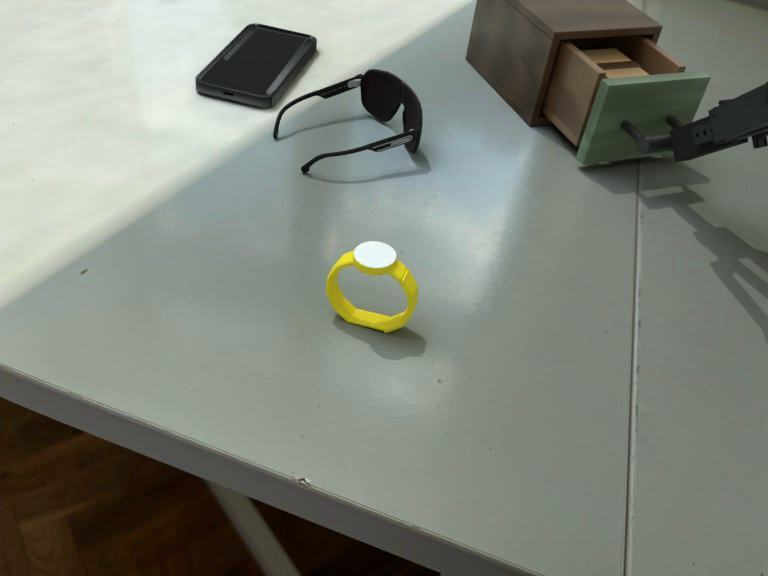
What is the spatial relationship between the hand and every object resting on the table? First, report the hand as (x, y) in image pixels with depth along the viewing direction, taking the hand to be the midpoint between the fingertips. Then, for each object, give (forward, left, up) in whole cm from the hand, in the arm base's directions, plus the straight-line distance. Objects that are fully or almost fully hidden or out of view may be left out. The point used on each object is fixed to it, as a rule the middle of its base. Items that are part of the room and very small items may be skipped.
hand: (679, 145), depth 66 cm
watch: (+31, +9, -5) cm, 33 cm away
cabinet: (0, -20, -5) cm, 21 cm away
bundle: (0, -11, -3) cm, 11 cm away
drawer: (0, -9, -4) cm, 10 cm away
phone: (+29, -28, -5) cm, 41 cm away
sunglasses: (+25, -13, -5) cm, 29 cm away
